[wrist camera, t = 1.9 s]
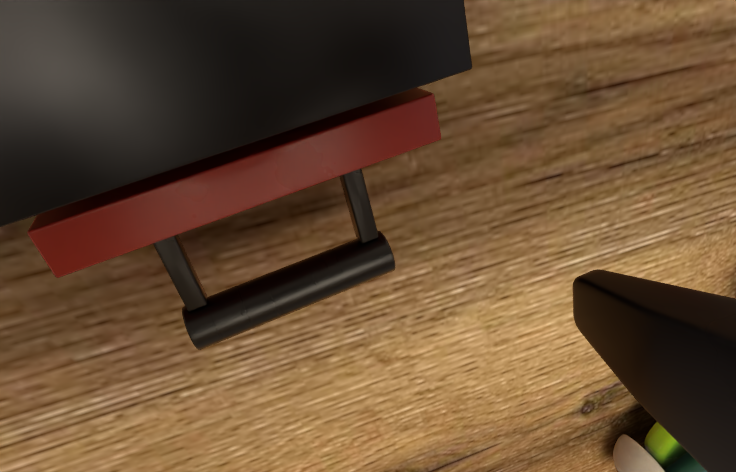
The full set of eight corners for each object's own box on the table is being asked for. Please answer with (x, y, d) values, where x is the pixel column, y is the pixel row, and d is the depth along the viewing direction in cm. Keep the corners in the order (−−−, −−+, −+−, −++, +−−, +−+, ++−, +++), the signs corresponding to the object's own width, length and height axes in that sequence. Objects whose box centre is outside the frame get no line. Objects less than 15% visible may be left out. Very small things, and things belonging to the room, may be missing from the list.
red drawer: (393, 216, 20) (467, 288, 15) (155, 308, 18) (150, 424, 13) (240, -433, 12) (295, -749, 7) (-228, -382, 10) (-629, -767, 5)
